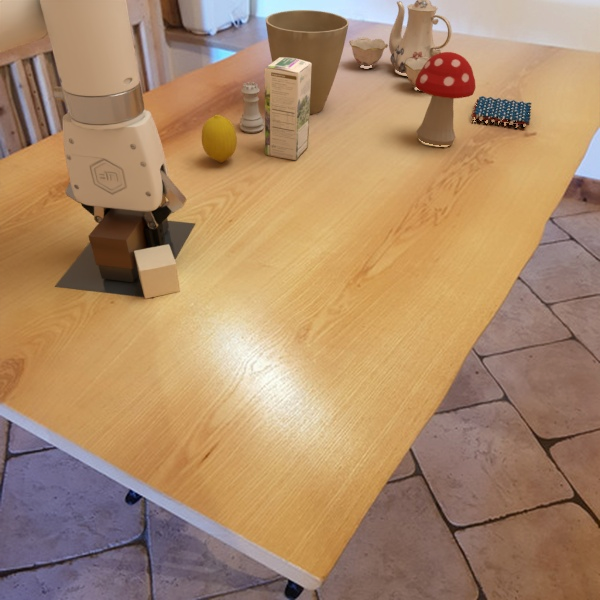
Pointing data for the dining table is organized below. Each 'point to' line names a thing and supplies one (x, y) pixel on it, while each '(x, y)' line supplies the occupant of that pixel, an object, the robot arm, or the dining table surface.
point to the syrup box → (287, 107)
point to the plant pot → (310, 46)
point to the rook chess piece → (251, 109)
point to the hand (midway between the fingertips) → (136, 246)
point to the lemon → (219, 138)
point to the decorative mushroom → (443, 95)
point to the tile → (89, 279)
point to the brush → (120, 243)
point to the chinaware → (405, 40)
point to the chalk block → (157, 271)
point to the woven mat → (502, 110)
